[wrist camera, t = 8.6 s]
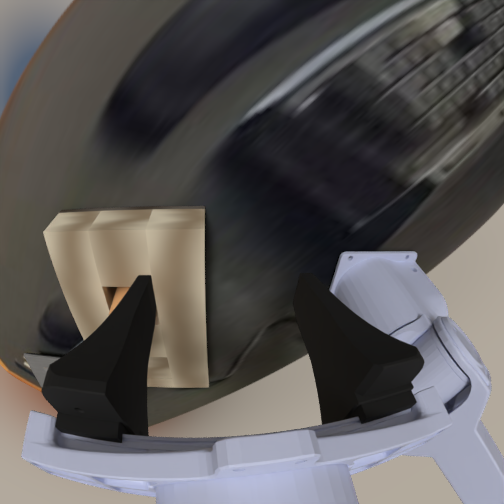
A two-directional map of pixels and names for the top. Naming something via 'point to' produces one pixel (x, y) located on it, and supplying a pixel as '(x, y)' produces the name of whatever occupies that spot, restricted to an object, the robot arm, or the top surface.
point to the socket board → (132, 265)
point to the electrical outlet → (40, 364)
